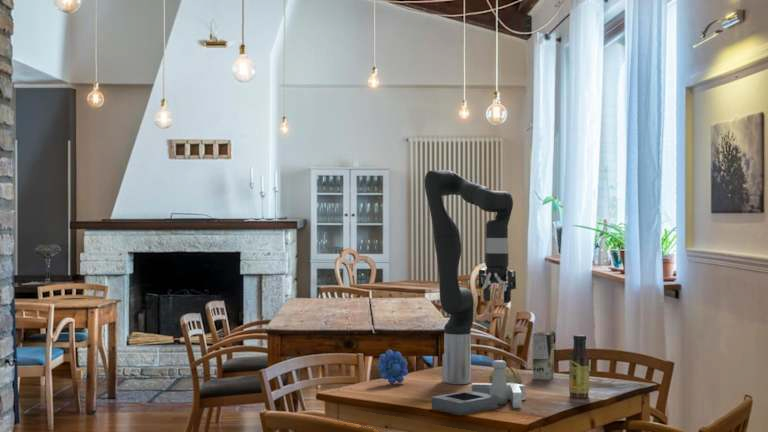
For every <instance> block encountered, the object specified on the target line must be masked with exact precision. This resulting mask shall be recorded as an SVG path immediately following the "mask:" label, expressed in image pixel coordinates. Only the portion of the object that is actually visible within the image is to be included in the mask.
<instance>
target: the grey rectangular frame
mask: <svg viewBox="0 0 768 432" xmlns="http://www.w3.org/2000/svg"><path fill="white" fill-rule="evenodd" d="M430 404H431V405H430V407H431V409H432V410H435V411H440V412H443V413H444V412H445V413H447V414H453V415H456V416H464V415H468V414H474V413H480V412H485V411H490V410H494V409H498V408H499V404H498V396H494V395H489V394H484V393H479V392H474V391H472V390H470V389H469V390H465V391H457V392H452V393H447V394H446V393H445V394H440V395H435V396H431V403H430Z"/></svg>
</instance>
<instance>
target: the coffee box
mask: <svg viewBox="0 0 768 432" xmlns="http://www.w3.org/2000/svg"><path fill="white" fill-rule="evenodd" d="M554 335H555V332H548V331H547V332H546V331H545V332H543V331H538V332H535V333H533V334H532V379H533V380H544V381H550V380H551V379H552V378H554V376H555V373H554V372H555V371H554V370H555V364H554V363H555V358H554V357H555V356H554V355H555V351H554V350H555V348H554V347H555V345H554V344H555V342H554V341H555V340H554V339H555V336H554Z"/></svg>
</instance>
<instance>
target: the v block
mask: <svg viewBox="0 0 768 432" xmlns="http://www.w3.org/2000/svg"><path fill="white" fill-rule="evenodd" d="M491 386H492V383H488V382H487V383H486V382H485V383H484V382H480V383H479V382H476V383H475V382H472V383H471V391H474V392H479V393H484V394H489V395H490V391H491ZM507 388H508V393H509V397H508V400H507V401H509V400H510V402H511V405H512V408H515V409H516V408H518V409H519V408H521V409H522V401H525V400H526V385H525V384H522V385H521V384H516V383H507Z"/></svg>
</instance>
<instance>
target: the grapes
mask: <svg viewBox="0 0 768 432" xmlns="http://www.w3.org/2000/svg"><path fill="white" fill-rule="evenodd" d="M378 359H379V362H378V363H377V365H376V367H377V370H378V371H380V378H381V379H382V380H387V382H388V383H389V384H391V385H394V384H396V382H397V383H400V384H401V383H403V381H404V377H407V376H408V374H409V371H408V368H406V367H408V366H407V365H408V361H407V359H405V358H403V355H402V353H401V352H400V351H393V350H392V349H387V350H386V351H385V353H381V354H380V355H379V358H378Z"/></svg>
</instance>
